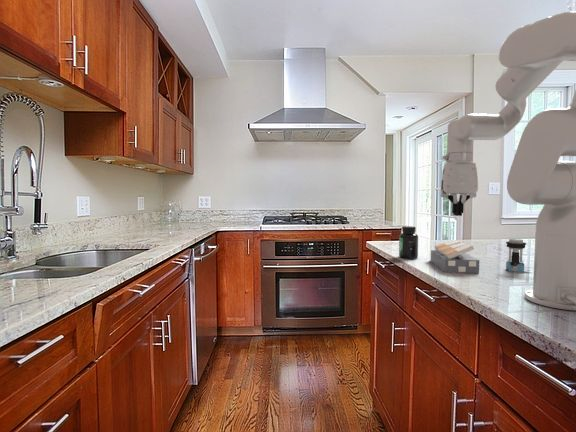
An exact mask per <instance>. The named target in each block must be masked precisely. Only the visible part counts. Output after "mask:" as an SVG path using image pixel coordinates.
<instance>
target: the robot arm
mask: <svg viewBox="0 0 576 432" xmlns="http://www.w3.org/2000/svg"><path fill="white" fill-rule="evenodd" d="M498 61H499V62H500V65H502V67H505V68H507V69H505V70H504V72H503V73H502V74H501V76H500V77H499V78H498V79H497V81H496V82H495V90H496V93H497V94H498V96H499V97H500V98H501V99H503V101H505V102H506V105H505V106H504V107H503V108H502V109H501V110H500V111H499V112H498V113H496V114H494V113H493V114H491V113H490V114H487V113H479V114H478V113H468V114H465V115H463V116H461V117H460V118H459V119H455V120H452V121H450V122H449V123H448V125H447V136H446V137H447V138H446V139H447V141H446V155H442V157H441V159H442V161H443V160H444V161H445V162H446V163H444V166H443V169H442V175H441V182H440V192H441V193H440V198H444V199H447V200H448V201H449V202H450V203H451V206H452V210H451V212H452V214H453V216H456V217H458V216H459V217H462V216H463V214H464V210H465V209H464V208H465V207H464V206H465V205H464V204H465V203H466V202H468V200H470V199H475V198H477V193H478V190H479V181H478V170H477V169H478V168H477V165H476V164H477V163H476V162H474V161H473V160H474V159H473V158H474V141H496V140H499V139H502V138H504V137H505V136H506V135H508V134H510V132H511V131H512V130H513V129H514V128H515V127H517V125H518V124H519V123H520V121H522V118H523V117H524V114H525V111H526V107H527V98H528V97H529V96H530V95H531V94H532V93H533V92H534V91H535V90H536V89H537V88H538V87H539V86H540V84H542V83H543V81H545V80H546V78H547V77H548V76H550V74H552V72H554V71H555V69H556V68H558V66H560V65H561V63H562V62H563V61H566V62H576V11H571V10H570V11H565V12H564V11H563V12H561V13H556V14H554V15H551V16H547V17H545V18H542V19H540V20H536V21H533V22H531V23H527V24H526V25H522V26H520V27H518V28H517V29H515V30H514V31H512V32H511V33H510V34H508V35H507V37H506V38H505V40H504V41H503V42H502V44H501V46H500V49H499V52H498ZM561 157H576V89H575V90H574V93H573V97H572V99H571V101H570V103H569V106H568V107H566V108H565V107H554V108H547V109H545V110H542V111H540V112H539V113H537V114H535V115H534V116H533V117H532V118H530V120H529V122H528V123H527V124H526V126H525V127H524V129H523V132H522V134H521V137H520V138H519V142H518V145H517V149H516V150H515V153H514V157H513V159H512V163H511V165H510V169H509V172H508V175H507V181H506V190H507V193H508V195H509V197H510V199H512V200H513V202H516V203H518V204H521V205H526V206H527V205H533V206H536V205H542V206H543V207H542V208H541V210H540V211H539V214H538V216H537V219H536V223H535V236H534V254H533V255H534V257H533V259H534V261H533V280H532V282H533V283H532V289H528V290H525V292H524V298H525V299H526V300H527V301H529V302H532V303H534V304H537V305H540V306H542V307H543V306H544V307H549V308H553V309H558V310H565V311H576V161H574V160H560V158H561ZM458 196H459V197H458Z"/></svg>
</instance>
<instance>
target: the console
mask: <svg viewBox="0 0 576 432" xmlns="http://www.w3.org/2000/svg"><path fill="white" fill-rule="evenodd" d="M430 262H431V263H432V264H434V265H435V266H436V267H438V268H439V269H441V271H442V272H444V273H457V274H458V273H461V274H463V273H465V274H466V273H467V274H479V273H480V260H479V259H478V258H475V257H474V256H471V255H470V254H467V252H466V253H463V254H461V255H458V256H456V257H453V258H451V259H448V258H447V257H445V255H444V254H442V253H440V252H439V251H437V250H435V249H431V250H430Z"/></svg>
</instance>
